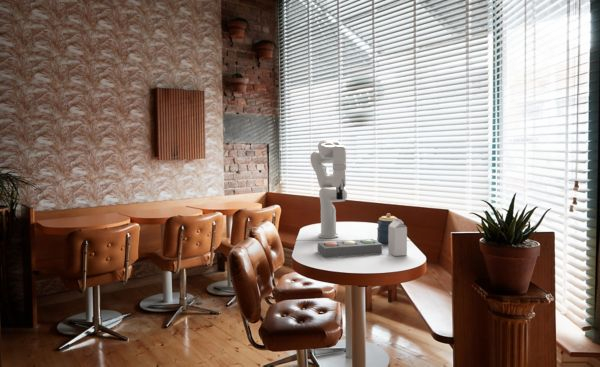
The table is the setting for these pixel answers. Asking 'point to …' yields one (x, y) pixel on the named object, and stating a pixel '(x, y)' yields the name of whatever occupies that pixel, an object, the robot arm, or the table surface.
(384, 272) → the table surface
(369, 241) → the button sage
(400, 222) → the milk carton
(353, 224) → the table surface
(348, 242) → the button cream
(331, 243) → the button terracotta
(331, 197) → the robot arm
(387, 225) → the canister
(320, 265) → the table surface
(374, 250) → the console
